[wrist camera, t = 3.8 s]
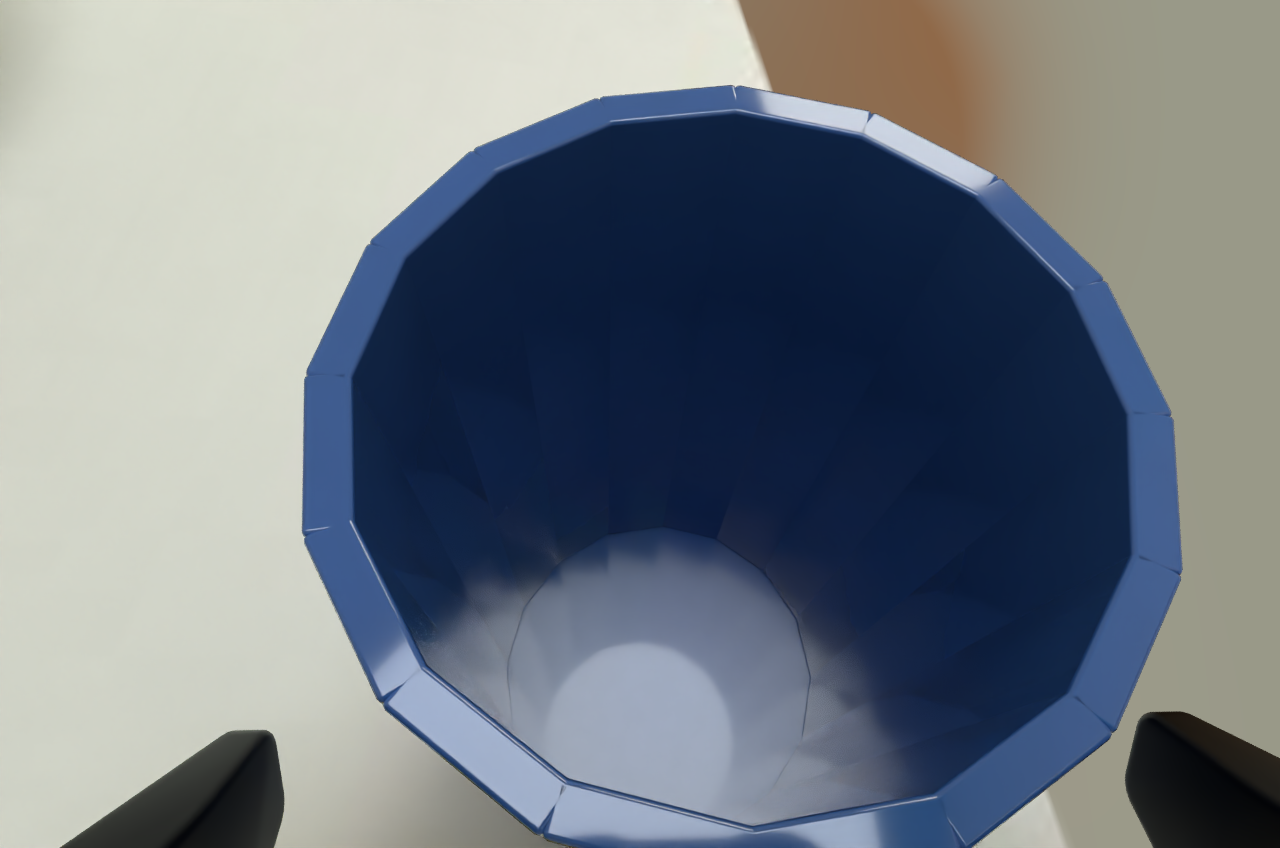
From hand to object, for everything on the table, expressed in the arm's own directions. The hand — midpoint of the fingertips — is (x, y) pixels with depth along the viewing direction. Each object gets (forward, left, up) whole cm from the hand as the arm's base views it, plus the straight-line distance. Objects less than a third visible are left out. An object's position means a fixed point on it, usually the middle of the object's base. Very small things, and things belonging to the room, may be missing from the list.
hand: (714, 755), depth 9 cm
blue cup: (+2, 0, -10) cm, 10 cm away
